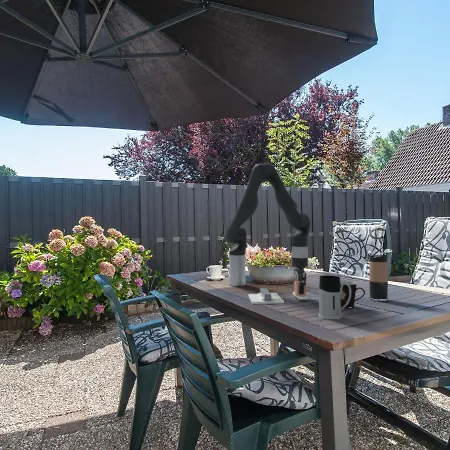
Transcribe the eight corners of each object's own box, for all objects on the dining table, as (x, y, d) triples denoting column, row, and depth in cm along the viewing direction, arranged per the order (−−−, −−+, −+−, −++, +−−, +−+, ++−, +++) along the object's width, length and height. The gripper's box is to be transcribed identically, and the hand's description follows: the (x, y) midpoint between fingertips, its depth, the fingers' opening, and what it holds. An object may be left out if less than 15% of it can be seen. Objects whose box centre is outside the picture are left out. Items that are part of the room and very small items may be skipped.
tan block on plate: (292, 293, 162) (292, 279, 162) (300, 293, 162) (300, 279, 162) (299, 299, 150) (298, 284, 150) (307, 299, 150) (307, 284, 150)
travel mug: (386, 298, 155) (385, 255, 155) (389, 302, 148) (389, 256, 148) (368, 297, 157) (368, 255, 157) (370, 301, 150) (370, 256, 150)
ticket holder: (248, 296, 163) (248, 287, 163) (277, 295, 164) (276, 287, 164) (252, 304, 147) (252, 294, 147) (284, 303, 148) (284, 294, 148)
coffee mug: (330, 305, 144) (330, 281, 144) (346, 303, 147) (346, 280, 147) (349, 311, 133) (349, 286, 133) (366, 309, 136) (366, 285, 136)
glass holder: (329, 312, 133) (329, 274, 132) (359, 321, 120) (359, 279, 120) (313, 315, 128) (312, 276, 128) (342, 325, 116) (341, 281, 116)
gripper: (288, 254, 163) (288, 289, 163) (295, 258, 149) (295, 296, 149) (303, 254, 163) (303, 289, 163) (312, 257, 149) (312, 296, 149)
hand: (299, 292), depth 156 cm, fingers closed on tan block on plate, 5 cm apart
